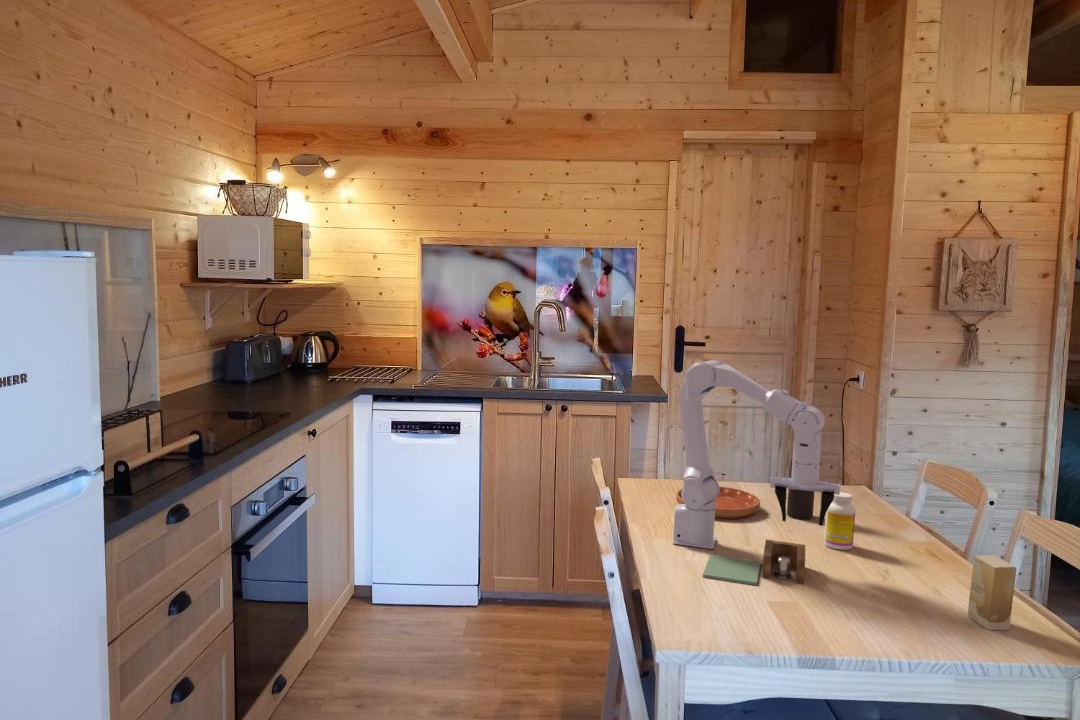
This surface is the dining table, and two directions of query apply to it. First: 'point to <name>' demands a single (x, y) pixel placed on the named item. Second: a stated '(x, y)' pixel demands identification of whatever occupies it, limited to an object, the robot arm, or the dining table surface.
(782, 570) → the metal door knob
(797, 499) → the vinegar
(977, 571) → the skincare box
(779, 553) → the walnut C-link
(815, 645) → the dining table surface
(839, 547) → the supplement bottle
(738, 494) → the saucer
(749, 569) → the green rubber mat
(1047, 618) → the dining table surface
